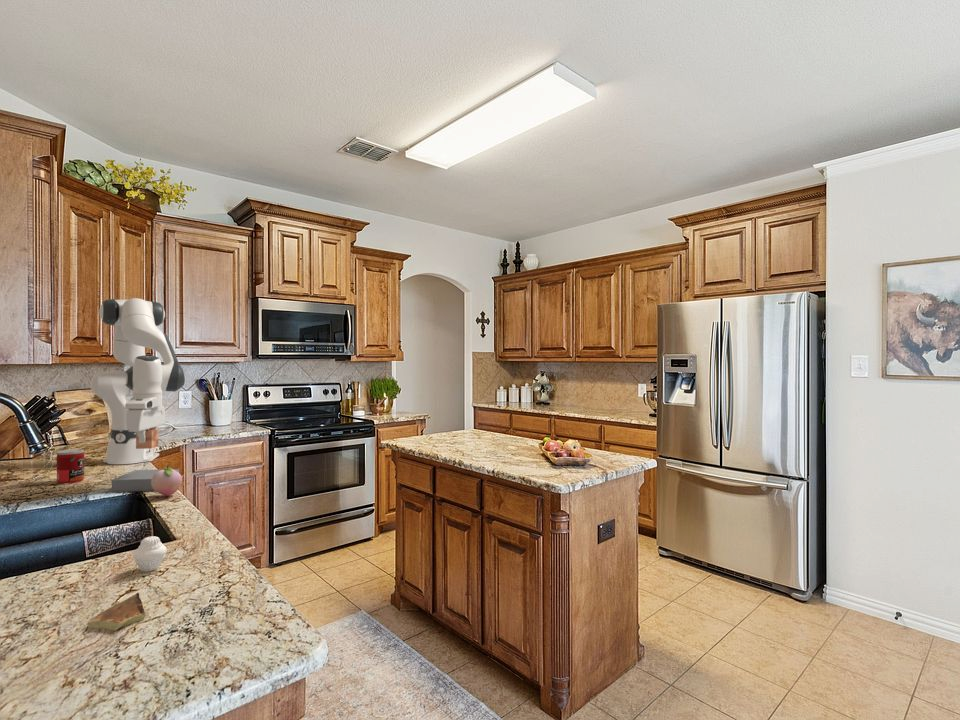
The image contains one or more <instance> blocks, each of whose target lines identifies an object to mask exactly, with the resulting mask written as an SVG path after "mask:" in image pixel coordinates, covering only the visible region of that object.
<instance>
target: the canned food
mask: <svg viewBox="0 0 960 720" xmlns="http://www.w3.org/2000/svg"><path fill="white" fill-rule="evenodd" d="M84 478H85V450H84V449H82V448H80V449H79V448H78V449H77V448H76V449H74V448H73V449H62V450H59V451H57V452H56V483H58V484H60V483H68V484H75V483H80V482H83V480H84Z"/></svg>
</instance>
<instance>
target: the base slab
mask: <svg viewBox="0 0 960 720" xmlns="http://www.w3.org/2000/svg"><path fill="white" fill-rule="evenodd" d="M172 469H173V468H172ZM161 470H162V469H137V470H136V469H134V470H132V471H130V472H127V473H126V474H125V473H124V474H123V475H120V476H118V477H116V478H114V479H113V478H112V479H111V492H112V493H117V492H123V493H124V492H126V493H127V492H153V491H154V492H156V491H155V490H154V489H153V488H152V485H151V481H152V478H153V476H154V475H155V474H156V473H157V472H158V471H161ZM173 470H175V471H177V472H179V473H180V469H179V468H177V469H176V468H175V469H173Z"/></svg>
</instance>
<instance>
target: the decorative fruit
mask: <svg viewBox="0 0 960 720" xmlns="http://www.w3.org/2000/svg"><path fill="white" fill-rule="evenodd" d="M160 470H161V471H158V472H157V473H156V474H155V475H154V476H153V478H152V481H151V485H152V488H153V489H154V490H155V491H154V492H156V493H158V494H160V495H163V496H166V498H167V497H169V496H172V495H174V494H175V493H176V492H177V491H178V490H179V488H180V487H181V485H182V483H183V477H182V474H180V471H179V472H177V471H175V470H173V468H172V467H169V465H167V466H166V467H164V468H163V469H160Z"/></svg>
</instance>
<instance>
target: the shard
mask: <svg viewBox="0 0 960 720" xmlns="http://www.w3.org/2000/svg"><path fill="white" fill-rule="evenodd" d="M146 617H147V615H146V613H145V609H144V605H143V601H142V599H141V597H140V593H139V592H136V593H135V594H133V595H132V596H129V597H128V598H126V599H124V600H122V601H120V602H118V603H116V604H114V605H113V606H111V607H109V608H107V609H105V610H104V611H102V612H100V613H98V614H97V615H96V616H93V617H92V618H91V619H89V620H88V622H87V623H86V625H87V628H89V629H90V628H91V629H104V630H105V629H106V630H109V631H118V630H119V629H121V628H122V627H125V626H128V625H131V624H133V623H137V622H140V621H142V620H145V618H146Z"/></svg>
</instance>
